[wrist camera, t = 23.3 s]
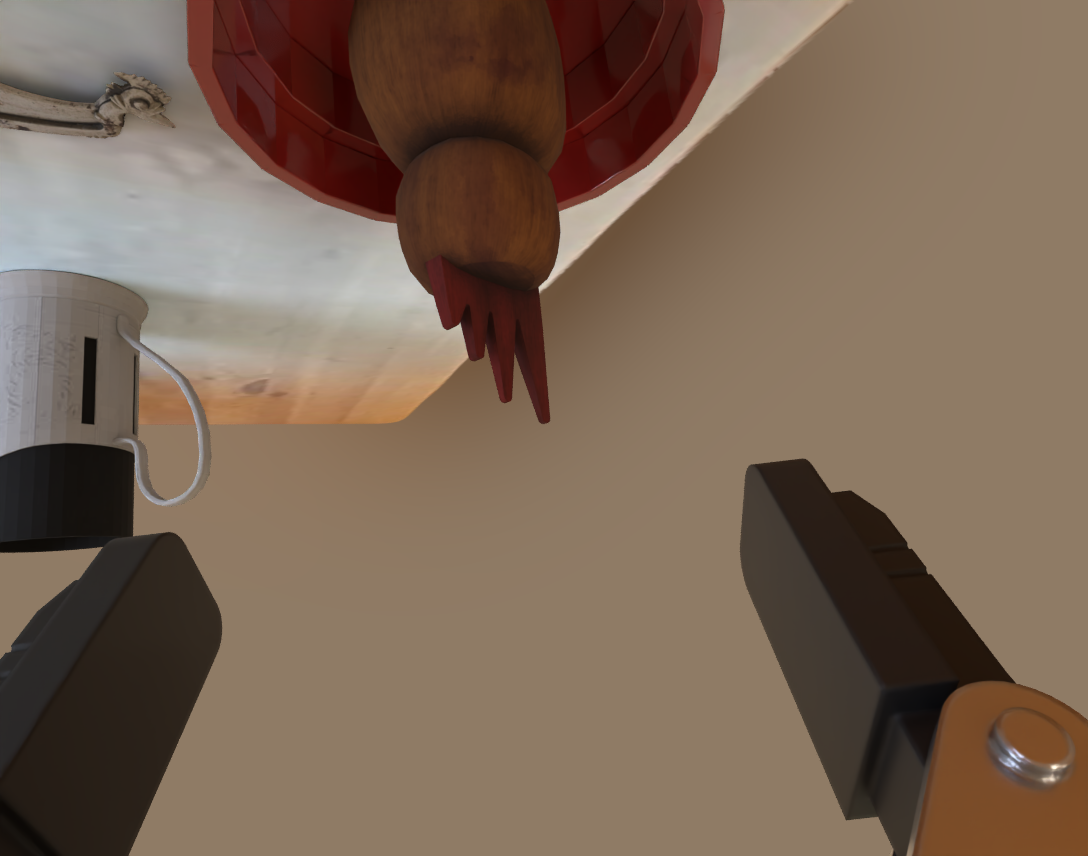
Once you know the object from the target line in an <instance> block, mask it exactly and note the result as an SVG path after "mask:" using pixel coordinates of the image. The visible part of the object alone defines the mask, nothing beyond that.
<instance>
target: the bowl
mask: <svg viewBox="0 0 1088 856" xmlns="http://www.w3.org/2000/svg"><path fill="white" fill-rule="evenodd" d="M354 1H355V0H186V4H187V46H188V63H189V66H190V68H191V70H192V72H193V74H194V76H195V78H196V80H197V83H198V85H199V87H200V89H201V91H202V93H203V95H204V97H205V99H206V101H207V103H208V105H209V107H210V110H211V112H212V114H213V116H214V118H215V120H216V122H217V123H218V125H219V127H220V128H221V129H222V130H223V131H224V132H225V133H226V134H227V135H228V136H229V137H230V138H231V139H232V140H233V141H234V142H235V143H236V144H237V145H238V146H239V147H240V148H241V149H242V150H243V151H244V152H245V153H246V154H247V155H248V156H249V157H250V158H251V159H252V160H253V161H254V162H255V163H256V164H257V165H258V166H259V167H260V168H261V169H264V171H266V172H268V173H269V174H271V175H273V176H274V177H276V178H278V179H280V180H281V181H283V182H285V183H286V184H288V185H290V186H291V187H293V188H295V189H297V190H298V191H300V192H302V193H303V194H305V195H307V196H309V197H310V198H312V199H314V200H317V201H318V202H321V203H324V204H327V205H330V206H333V207H336V208H339V209H342V210H345V211H348V212H351V213H354V214H357V215H360V216H363V217H366V218H369V219H372V220H375V221H382V222H389V223H396V224H397V220H396V195H397V192H398V189H399V186H400V183H401V181H402V178H403V176H404V174H403V173H402V172H401V171H400V170H399V169H398V167H397V166H396V165H395V164H394V163H393V162H392V160H391V159H390V158H389V157H388V155H387V154H386V153H385V152H384V150H383V149H382V148H381V147H380V145H379V143H378V140H377V138H376V136H375V134H374V132H373V130H372V128H371V125H370V123H369V121H368V119H367V117H366V115H365V113H364V110H363V108H362V106H361V104H360V102H359V100H358V98H357V93H356V89H355V85H354V81H353V77H352V72H351V68H350V62H349V44H348V29H349V25H350V20H351V15H352V10H353V6H354ZM545 1H546V4H547V7H548V9H549V12H550V15H551V18H552V22H553V25H554V29H555V33H556V36H557V40H558V44H559V47H560V53H561V60H562V67H563V74H564V85H565V99H566V133H565V138H564V143H563V148H562V152H561V154H560V156H559V157H558V159H557V160H556V162H555V163H554V165H553V166H552V168H551V169H550V171H549V172H548V176H549V177H550V179H551V181H552V185H553V188H554V192H555V196H556V201H557V206H558V211H562V210H564V209H567V208H570V207H572V206H575V205H578V204H580V203H583V202H585V201H588V200H591V199H593V198H596V197H598V196H600V195H602V194H604V193H605V192H607V191H608V190H610V189H612V188H613V187H615V186H616V185H618V184H620V183H621V182H623V181H625V180H626V179H628V178H629V177H631V176H633V175H634V174H636V173H637V172H639V171H641V170H642V169H644V168H645V167H647V165H649V164H650V163H651V162H652V161H653V160H654V159H655V158H656V157H657V156H658V155H659V154H660V153H661V152H662V151H663V150H664V149H665V148H666V147H667V146H668V145H669V144H670V143H671V142H672V141H673V140H674V139H675V138H676V137H677V136H678V135H679V134H680V133H681V132H682V131H683V130H684V129H685V128H686V127H687V125H688V124H689V123H690V121H691V119H692V117H693V115H694V114H695V112H696V110H697V108H698V106H699V104H700V102H701V101H702V99H703V97H704V95H705V93H706V91H707V89H708V87H709V86H710V84H711V82H712V80H713V78H714V76H715V74H716V72H717V66H718V59H719V51H720V43H721V36H722V28H723V20H724V12H725V9H724V2H723V0H545Z"/></svg>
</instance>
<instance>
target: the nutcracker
mask: <svg viewBox="0 0 1088 856" xmlns="http://www.w3.org/2000/svg"><path fill="white" fill-rule="evenodd" d="M114 75H116V76H117V77H119V78H120V79H122V80H124V81H126V82H128V83H127V84H124V86H119V85H118V84H116V83H113V82H111V85H109V84H106V86H107V87H108V88H107V89H106V93H105V94H104V95H102V96H101V97H100V98H99V99H98V100H97V101H95V103H80V102H72V101H65V100H60V99H54V98H50V97H45V96H41V95H37V94H33V93H30V92H26V91H23V90H20V89H16V88H13V87H11V86H8V85H5V84H2V83H0V127H3V128H9V129H17V130H25V131H34V132H42V133H52V134H61V135H75V136H86V137H90V138H91V137H95V138H107V137H114V136H118V135H119V134H120V132H121V129H122V127H123V126H124V116H125V113H131V114H134V115H136V116H137V117H139V118H141V119H143V120H145V121H149V122H154V123H158V124H162V125H165V126H169V127H172V128H176V126H175V125H174V124H173V123H172V122H171V121H170V120H169V119H167V118H166V117H165V116H164V115H162V114H161V113H162V112H164V111H165V108H164V107H163V106H164V105H166V104H168V103H169V101H170V100H171V97H168V96H166V93H165V92H163V91H162V89H158V88H157V85H155V84H151V83H150V81H148V80H146V79H145V78H144V77H137V76H136V75H135V74H133V75H127V74H125V73H122V72H114Z"/></svg>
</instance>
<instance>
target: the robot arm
mask: <svg viewBox="0 0 1088 856" xmlns="http://www.w3.org/2000/svg"><path fill="white" fill-rule="evenodd" d="M740 557H741V565H742V571H743V576H744V580H745V583H746V586H747V589H748V592H749V594H750V597H751V599H752V601H753V604H754V606H755V608H756V611H757V613H758V615H759V617H760V620H761V622H762V625H763V627H764V629H765V632H766V634H767V636H768V639H769V641H770V643H771V646H772V648H773V650H774V653H775V655H776V658H777V660H778V662H779V665H780V667H781V669H782V671H783V674H784V676H785V679H786V681H787V683H788V686H789V688H790V690H791V693H792V695H793V697H794V700H795V702H796V704H797V707H798V709H799V711H800V714H801V716H802V718H803V721H804V723H805V725H806V727H807V730H808V732H809V735H810V737H811V739H812V742H813V744H814V746H815V749H816V751H817V753H818V756H819V758H820V760H821V763H822V765H823V767H824V769H825V772H826V774H827V777H828V779H829V781H830V784H831V786H832V788H833V791H834V793H835V795H836V798H837V800H838V802H839V805H840V807H841V809H842V812H843V814H844V816H845V819H846V820H852V819H860V818H870V817H879V819H880V822H881V824H882V826H883V828H884V830H885V832H886V834H887V836H888V839H889V841H890V843H891V845H892V850H891V853H890V856H1088V720H1087V719H1086V718H1084V717H1083V716H1082V715H1081V714H1080V713H1078V712H1077V711H1075V710H1074V709H1072V708H1071V707H1069V706H1068V705H1066V704H1065V703H1063V702H1061V701H1059V700H1057V699H1055V698H1054V697H1052V696H1050V695H1048V694H1045V693H1043V692H1040V691H1038V690H1036V689H1033V688H1029V687H1026V686H1023V685H1020V684H1016V683H1015V682H1014V680H1013V679H1012V678H1011V677H1010V676H1009V675H1008V673H1007V672H1006V671H1005V670H1004V668H1003V667H1002V666H1001V664H1000V663H999V662H998V661H997V659H996V658H995V657H994V655H993V654H992V653H991V651H990V650H989V649H988V647H987V646H986V645H985V644H984V642H983V641H982V640H981V638H980V637H979V636H978V634H977V633H976V632H975V630H974V629H973V628H972V627H971V625H970V624H969V623H968V621H967V620H966V619H965V618H964V616H963V615H962V614H961V612H960V611H959V610H958V608H957V607H956V606H955V604H954V603H953V602H952V600H951V599H950V598H949V597H948V596H947V594H946V593H945V591H944V590H943V589H942V587H941V586H940V585H939V583H938V582H937V581H936V580H935V578H934V577H933V576H932V575H931V574H929V575H928V573H927V571H926V566H925V565H924V564H923V563H922V561H921V560H920V559H919V557H918V556H917V555H916V553H915V552H914V551H913V550H912V549H909V548H908V546H907V542H906V540H905V539H904V538H903V537H902V535H901V534H900V533H899V532H898V530H897V529H896V527H895V526H894V525H893V524H892V522H891V521H890V519H889V518H888V517H887V516H886V514H885V513H883V512H882V511H880V510H879V509H877V508H876V507H874V506H873V505H871V504H870V503H868V502H867V501H865V500H864V499H863V498H861V497H860V496H858V495H856V494H855V493H854V492H852V491H842V492H835V493H831V492H830V490H829V489H828V487H827V486H826V485H825V483H824V482H823V480H822V479H821V477H820V476H819V474H818V473H817V471H816V470H815V469H814V467H813V466H812V464H811V463H810V462H809V461H808V460H806V459H795V460H788V461H779V462H770V463H762V464H753V465H750V466H749V467H748V468H747V471H746V475H745V487H744V500H743V514H742V527H741V541H740ZM221 636H222V621H221V614H220V611H219V608H218V605H217V603H216V602H215V600H214V598H213V596H212V594H211V592H210V590H209V588H208V586H207V585H206V583H205V581H204V579H203V577H202V575H201V573H200V571H199V570H198V568H197V566H196V564H195V562H194V560H193V558H192V556H191V555H190V553H189V551H188V549H187V547H186V545H185V544H184V542H183V540H182V539H181V538H180V537H179V536H178V535H176V534H174V533H171V532H166V533H158V534H150V535H141V536H133V537H124V538H117V539H113V540H111V541H109V542H108V543H107V544H106V545H105V546H104V547H103V548H102V549H101V551H100V552H99V553H98V555H97V556H96V557H95V559H94V560H93V561H92V563H91V564H90V566H89V567H88V568H87V570H86V571H85V573H84V574H83V575H82V577H81V578H80V579H79V580H75V581H74V582H72V583H71V584H70V585H69V586H68V587H66V588H65V589H64V590H63V591H62V592H60V593H59V594H58V595H57V596H55V597H54V598H53V599H52V600H51V601H49V602H48V603H47V604H46V605H45V606H43V607H42V608H41V609H40V610H39V611H37V613H36V614H35V615H34V617H33V618H32V619H31V620H30V622H29V623H28V624H27V626H26V627H25V628H24V630H23V631H22V632H21V634H20V635H19V636H18V637H17V639H16V640H15V641H14V643H13V644H12V645H11V647H12V650H11V652H9V653H5V654H4V656H3V657H2V658H1V659H0V856H128V855H129V853H130V851H131V848H132V846H133V844H134V841H135V839H136V837H137V835H138V832H139V830H140V828H141V826H142V823H143V821H144V819H145V816H146V814H147V812H148V809H149V807H150V805H151V803H152V800H153V798H154V796H155V794H156V791H157V789H158V787H159V784H160V782H161V780H162V778H163V775H164V773H165V771H166V769H167V766H168V764H169V762H170V760H171V757H172V755H173V753H174V750H175V748H176V746H177V744H178V741H179V739H180V737H181V735H182V732H183V730H184V728H185V725H186V723H187V721H188V719H189V716H190V714H191V712H192V710H193V707H194V705H195V703H196V700H197V698H198V696H199V693H200V691H201V689H202V687H203V684H204V682H205V680H206V678H207V675H208V673H209V671H210V669H211V666H212V664H213V662H214V659H215V657H216V655H217V652H218V650H219V647H220V643H221Z"/></svg>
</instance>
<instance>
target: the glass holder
mask: <svg viewBox="0 0 1088 856" xmlns="http://www.w3.org/2000/svg"><path fill="white" fill-rule="evenodd" d="M147 314H148V306H147V304H146V302H145V301H144V300H143V299H142V298H141V297H139V296H138V295H137V294H135V293H134V292H132V291H130V290H128V289H126V288H124V287H121V286H119V285H117V284H114V283H111V282H108V281H105V280H101V279H97V278H93V277H89V276H84V275H79V274H74V273H66V272H59V271H46V270H19V271H8V272H2V273H0V552H1V553H5V552H6V553H7V552H8V553H15V552H46V551H63V550H77V549H87V548H97V547H104V546H105V545H106V544H107V543H108V542H109V541H111V540H113V539H117V538H124V537H133V506H134V505H133V504H134V463H135V471H136V479H137V482H138V485H139V488H140V490H141V492H142V493H143V494H144V495H145V497H146V498H147V499H149V500H150V501H152V502H153V503H155V504H158V505H163V506H175V505H180V504H184V503H185V502H187V501H189V500H191V499H193V498H194V497H195V496H196V495H197V494H198V493H199V492H200V491H201V490H202V489H203V487H204V485H205V483H206V481H207V478H208V476H209V473H210V464H211V443H210V432H209V428H208V423H207V419H206V415H205V412H204V409H203V407H202V405H201V403H200V400H199V398H198V396H197V394H196V392H195V391H194V389H193V387H192V385H191V384H190V382H189V380H188V379H187V378H186V377H185V376H183V375H182V374H181V373H180V372H179V371H178V370H177V369H175V368H174V367H173V366H171V365H170V364H169V363H168V362H167V361H165V360H164V359H163V358H162V357H160V356H159V355H157V354H156V353H154V352H153V351H152V350H150V349H149V348H147V347H146V346H145V345H143V344H142V343H140V329H141V324H142V323H143V321H144V320H145V319H146V317H147ZM140 352H141V353H143V354H144V355H145V356H147V357H149V358H150V359H152V360H153V361H154V362H156V363H157V364H158V365H160V366H161V367H162V368H163V369H164V370H165V371H167V372H168V373H169V374H170V375H171V376H172V377H173V378H174V379H175V380H176V381H177V383H178V384H179V386H180V388H181V389H182V391H183V392H184V394H185V396H186V398H187V400H188V402H189V404H190V407H191V409H192V411H193V414H194V418H195V422H196V426H197V430H198V438H199V439H198V440H199V452H200V457H199V466H198V473H197V475H196V478H195V480H194V482H193V485H192V486H191V487H190V488H189V489H188V490H187V491H186V492H185V493H184V494H182V495H180V496H178V497H176V498H175V499H171V500H165V499H163V498H162V497H160V496H159V495H158V494H157V493H156V492H155V490H154V489H153V488H152V485H151V482H150V479H149V473H148V455H147V449H146V447H145V445H144V444H143V443H142V442H141V441H140V440H138V414H139V356H140Z"/></svg>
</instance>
